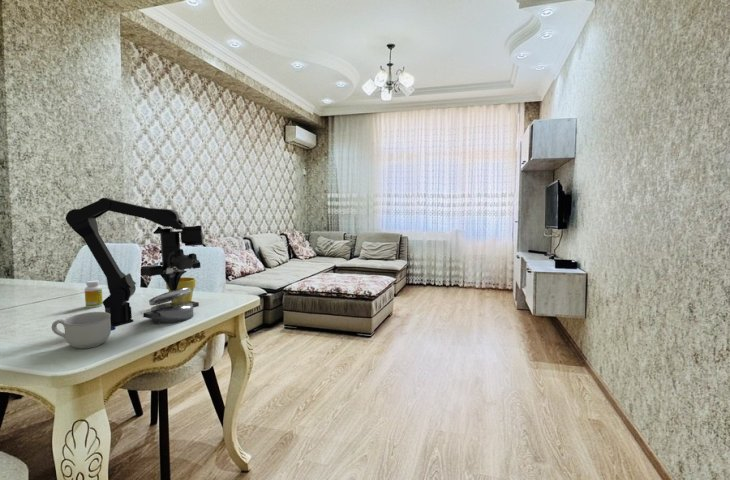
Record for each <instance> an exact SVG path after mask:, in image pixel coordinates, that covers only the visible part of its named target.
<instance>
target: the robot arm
mask: <svg viewBox="0 0 730 480" xmlns="http://www.w3.org/2000/svg"><path fill="white" fill-rule="evenodd" d="M107 212H113V213H118V214H120V215H121V214H122V215H126V216H130V217H131V216H132V217H135V218H136V217H137V218H140V219H145V220H147V221H149V222H152V223H155V224H156V225H159V226H157V228H156V229H155V230H154V231H153V233H152V234H154V235H158V234H159V235H160V248H161V249H159V250H158V254H161V261H160V262H159V265H158V264H150V265H143V266H141V268H140V276H145V277H147V276H149V277H154V276H161V278H162V279H163V280H164V282H165V283H167V285H168V287H169V289H170V290H171V291H173V290H176V289H177V286H178V283H179V280H180V278H181V277H183V275H184V274H185V273H187V269H188V270H191V269H193V270H194V269H201V268H202V267H201V262H200V260H199V259H198V258H197V254H196V253H194V252H193V253H192V252H191V253H189V254H185V253H184V249H183V248H181V244H184V246H185V247H188V246H190V247H192V246H204V241H205V240H204V239H205V238H204V233H203V227H202V225H194V226H193V225H191V226H189V225H188V226H187V225H185V223H183V221H181V220H180V215H179V213H178V212H177V211H176V210H175V209H172V208H171V209H169V208H157V207H156V208H153V207H147V206H143V205H139V204H138V205H137V204H134V203H129V202H124V201H120V200H117V199H116V200H115V199H112V198H110V197H101V198H100V199H98V200H97V201H94V202H93V203H90V204H87V205H86V206H83V207H81V208H74V209H71V210H69V211H68V212H67V213H66V216H65V221H66V223H67V224H68V226H69V227H70V228H71V229H72V230H73V232H75V233H76V234H77V235H79V236H80V237H81V238H82V239H83V240H84V242H85V244H86V246H87V247H88V249H89V251H90V253H91V254H92V255H93V258H94V259H95V261H96V263H97V264H98V266H99V267H100V269H101V271H102V273H103V274H104V276H105V278H106V284H107V289H108V291H109V295H108V296H107V297H106V298H105V299H104V300H103V305H102V306H104V312H107V313H109V314H111V317H110V321H111V327H117V326H120V325H125V324H128V323H133V322H134V319H132V318H133V317H132V306H130V302H129V301H130V298H131V297H132V296H134V295H135V292H136V284H137V282H136V281H135V280H134V279H133V278H132V275H131V273H127V274H125V273H124V272H122V270H121V269H120V268H119V265H118V264H117V262H116V260H115V258H114V257H113V255H112V253H111V252H110V250H109V248H108V247H107V245H106V243H105V242H104V239H103V237H102V236H101V235H100V232H99V226H98V222H97V219H98V218H99V217H101V216H103V215H104V214H106V213H107ZM161 226H162V227H161ZM163 227H165V228H163ZM173 229H174V230H173Z"/></svg>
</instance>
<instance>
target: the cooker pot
mask: <svg viewBox="0 0 730 480" xmlns="http://www.w3.org/2000/svg"><path fill="white" fill-rule="evenodd" d="M197 307H200V303H199V302H198V301H192V300H191V301H188V302H171V301H169V302H166V303H162V304H158V305H153V306H152V307H151V308H150V310H149V311H146V312H145V311H144V312H143V313H142V314H143V318H146V319H151V320H150V321H151V322H152V323H154V324H158V325H159V324H161V325H162V324H163V325H164V324H165V325H166V324H176V323H177V324H178V323H181V322H185V321H188V320H190V319H192V318H194V308H197Z"/></svg>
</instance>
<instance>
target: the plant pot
mask: <svg viewBox="0 0 730 480" xmlns="http://www.w3.org/2000/svg"><path fill="white" fill-rule="evenodd" d="M165 283H166V282H165ZM165 285H166V290H168V292H170V291H171V290H170V289H169V287H168V285H167V283H166V284H165ZM181 288H190V290H191V292H190V293H189V294H187V295H185V296H183V297H180V298H178V299H175V300H172V301H170V302H188V301H192V299H193V293H194V289H195V288H196V278H195V277H191V276H190V277H188V276H187V277H185V276H184V277H183V276H181V278H180V280H179V283H178V286H177V289H181ZM177 289H176V290H177Z"/></svg>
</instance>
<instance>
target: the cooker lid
mask: <svg viewBox="0 0 730 480" xmlns="http://www.w3.org/2000/svg"><path fill="white" fill-rule="evenodd" d="M190 292H191V290H190V288H181V289H177V290H173V291H170V292H169V291H168V292H164V293H162V294H159V295H156V296H155V297H153V298H150V299H149V300H148V304H149V306H156V305H159V304H164V303H170V302H171V301H172V300H175V299H178V298H180V297H183V296H185V295H187V294H189V293H190Z"/></svg>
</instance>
